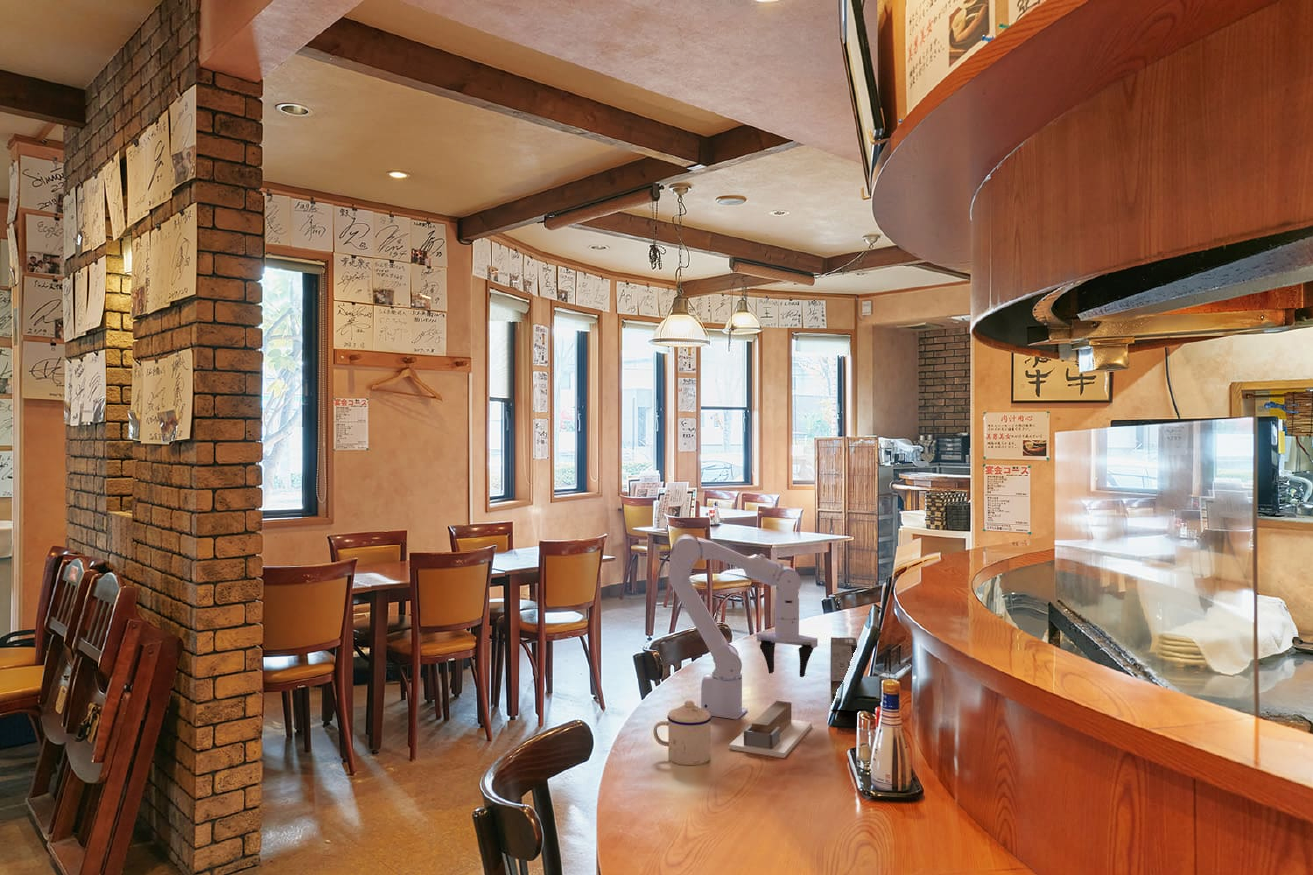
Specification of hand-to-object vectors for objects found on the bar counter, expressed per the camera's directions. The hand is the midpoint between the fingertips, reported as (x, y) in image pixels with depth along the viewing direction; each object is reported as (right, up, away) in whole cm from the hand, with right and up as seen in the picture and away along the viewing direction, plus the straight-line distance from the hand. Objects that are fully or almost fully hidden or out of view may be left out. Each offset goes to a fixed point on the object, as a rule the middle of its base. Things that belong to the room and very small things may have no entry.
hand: (786, 674), depth 211 cm
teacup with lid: (-26, -9, -30) cm, 41 cm away
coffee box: (+15, -10, +6) cm, 19 cm away
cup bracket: (-6, -9, -17) cm, 20 cm away
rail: (-6, -8, -17) cm, 20 cm away
